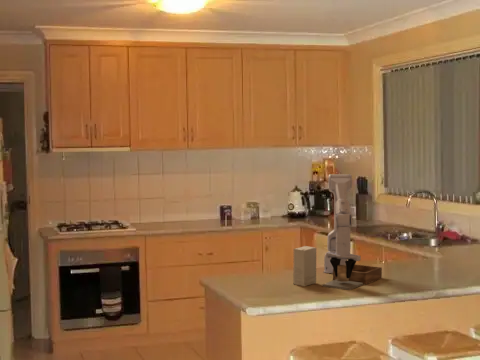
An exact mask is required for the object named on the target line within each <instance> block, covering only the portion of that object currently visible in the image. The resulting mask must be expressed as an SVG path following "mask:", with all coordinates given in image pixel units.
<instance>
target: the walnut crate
mask: <svg viewBox="0 0 480 360" xmlns="http://www.w3.org/2000/svg"><path fill="white" fill-rule="evenodd" d="M382 269H383V268H382V267H381V266H370V265H365V264H364V265H361V264H355V265H354V267H353V270H352V273H351V277H350V278H349V281H353V282H361V283H363V285H367V284H371V283H373V282H375V280H376V281H379V280H380V279H382V273H383V272H382ZM336 279H337V277H335V272H334V269H333V273H332V281H333V280H336Z"/></svg>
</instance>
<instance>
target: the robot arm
mask: <svg viewBox="0 0 480 360" xmlns="http://www.w3.org/2000/svg"><path fill="white" fill-rule="evenodd" d="M327 181H328V183H327V184H328V185H327V186H328V188H327V189H328V191H329V192H330V193H332V194H333V198H334V199H333V202H334V203H333V206H334V207H333V229H332V230H331V231H330V232H328V234H327V241H326V246H327V247H326V248H327V249H326V250H327V251H326V252H325V254H324V260H323V261H324V263H323V268H324V269H323V273H327V274H333V269H334V272H335V277H337V265H346V277H347V278H350V277H351V273H352V270H353V267H354V265H356V263H357V262H360V261H362V259H361V255H359V254H354V253H353V254H352V253H351V228H352V225H353V218H352V217H353V216H352V212H351V210H350V209H351V208H350V202H349V201H348V200H347V193H348V192H350V191H351V190H352V188H353V175H352V174H351V173H348V174H346V173H342V174H341V173H340V174H338V173H337V174H336V173H334V174H333V173H332V174H331V173H329V174H328V180H327Z"/></svg>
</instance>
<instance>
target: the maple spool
mask: <svg viewBox="0 0 480 360" xmlns="http://www.w3.org/2000/svg"><path fill="white" fill-rule="evenodd" d="M337 281H341V282H347V281H349V278H347V277H346V265H337Z"/></svg>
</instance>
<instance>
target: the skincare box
mask: <svg viewBox="0 0 480 360" xmlns="http://www.w3.org/2000/svg"><path fill="white" fill-rule="evenodd" d="M292 268H293V274H292V275H293V280H292V281H293V285H296V286H301V287H306V286H310V285H312V284H316V283H317V247H314V246H307V245H303V246H299V247H297V248H293V267H292Z"/></svg>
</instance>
